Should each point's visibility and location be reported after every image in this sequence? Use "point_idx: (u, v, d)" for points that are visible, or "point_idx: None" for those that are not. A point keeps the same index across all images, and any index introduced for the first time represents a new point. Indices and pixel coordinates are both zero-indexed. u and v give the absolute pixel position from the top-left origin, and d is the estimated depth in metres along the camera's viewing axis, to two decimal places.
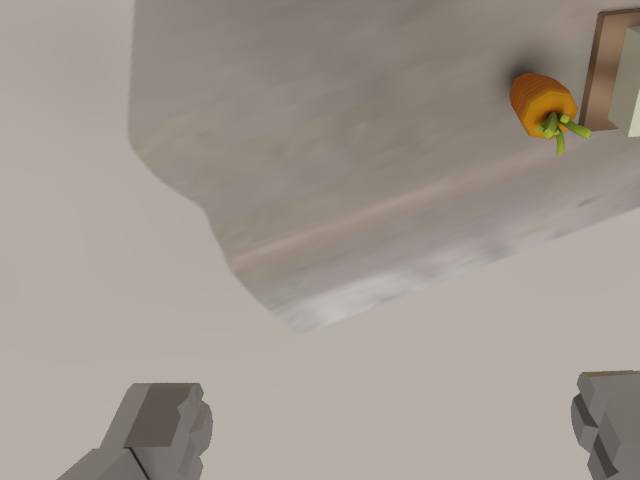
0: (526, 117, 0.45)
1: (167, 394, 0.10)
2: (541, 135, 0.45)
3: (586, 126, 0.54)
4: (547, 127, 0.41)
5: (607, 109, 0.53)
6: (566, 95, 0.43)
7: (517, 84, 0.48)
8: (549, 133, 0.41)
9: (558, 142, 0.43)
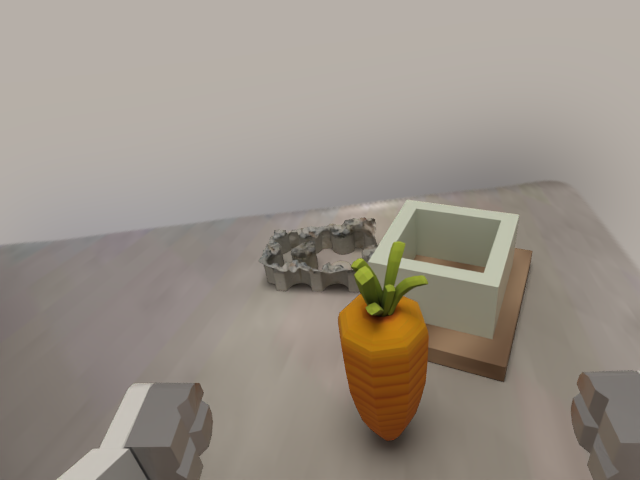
0: (364, 345, 0.24)
1: (167, 394, 0.10)
2: (407, 330, 0.25)
3: (497, 362, 0.34)
4: (355, 278, 0.23)
5: (476, 337, 0.36)
6: (357, 296, 0.27)
7: (353, 399, 0.28)
8: (362, 271, 0.23)
9: (405, 284, 0.24)
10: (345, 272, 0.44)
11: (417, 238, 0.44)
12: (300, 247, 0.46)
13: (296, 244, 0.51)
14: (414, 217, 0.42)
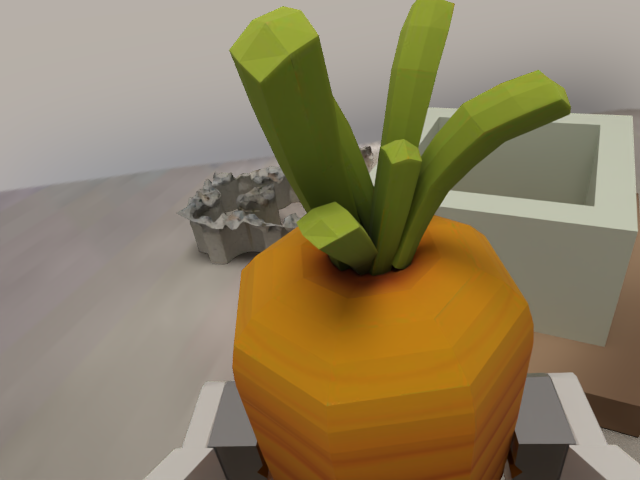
0: (302, 380, 0.06)
1: None
2: (469, 320, 0.06)
3: (627, 396, 0.16)
4: (241, 76, 0.05)
5: (570, 343, 0.18)
6: None
7: None
8: (264, 23, 0.05)
9: (465, 125, 0.06)
10: None
11: None
12: (250, 193, 0.28)
13: None
14: (436, 132, 0.24)
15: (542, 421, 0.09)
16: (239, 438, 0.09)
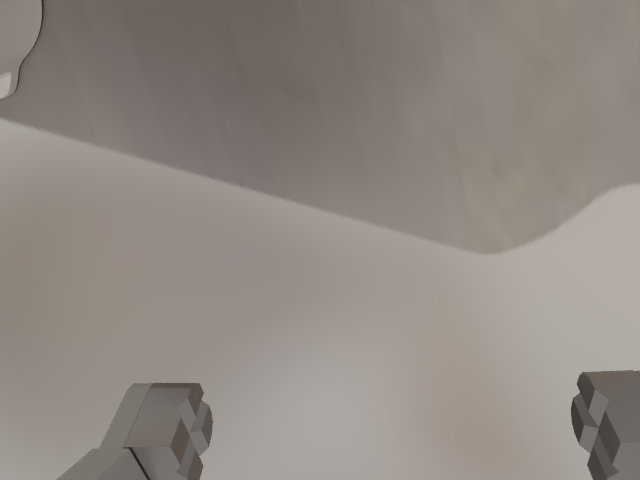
0: None
1: (167, 394, 0.10)
2: None
3: None
4: None
5: None
6: None
7: None
8: None
9: None
10: None
11: None
12: None
13: None
14: None
15: None
16: (155, 439, 0.09)
